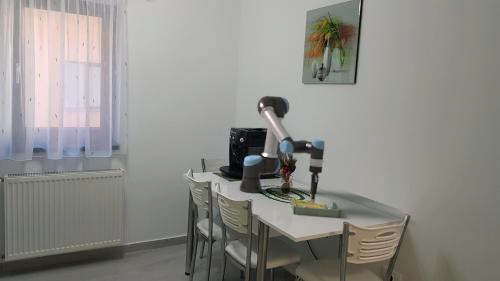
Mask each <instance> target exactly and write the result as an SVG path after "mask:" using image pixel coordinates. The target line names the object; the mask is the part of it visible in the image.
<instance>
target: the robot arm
mask: <svg viewBox="0 0 500 281" xmlns="http://www.w3.org/2000/svg"><path fill="white" fill-rule="evenodd" d="M256 107H257V108H256V109H257V112H258V115H259V116H260V117H261V118H263V119H264V121H265V122H266V123H267V129H266V131H267V132H266V138H265V142H264V150H263V152H262V153H261V156H260V155H258V154H257V155H253V154H252V155H248V156H245V157H244V160H243V171H242V172H243V174H242V180H241V182H240V185H239V191H241V192H244V193H251V194H257V193H260V192H262V190H263V188H262V183H261V175H273V174H276V173H278V171H279V170H280V168H281V162H280V161H281V160H280V158H279V155H278V153H277V152H278V144H279V150H280V152H281V153H282V154H285V155H286V154H287V155H292V154H308V155H309V156H310V158H309V167H308V168H309V169H308V171H309V173H312V174H310V176H311V177H310V178H311V179H310V193H309V194H310V197H309V202H310V203H315V204H316V197H317V196H316V195H317V193H318V192H317V190H318V184H319V178H320V176H319V174H321V173H322V172H323V164H324V162H325V161H324V152H325V140H324V139H312V140H311V141H309V140H305V139H300V140H294V139H293V138H292V136H291V135H290V133H289V132H288V130H287V128H286V127H285V126H284V125H283V123H282V120H283V119H285V115H287V114H288V113H289V112H290V103H289V101H288V99H287V98H286V97H284V96H283V97H282V96H276V95H275V96H270V95H265V96H262V97H261V98H260V99H259V100H258V102H257V106H256Z"/></svg>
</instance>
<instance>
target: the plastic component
mask: <svg viewBox="0 0 500 281" xmlns="http://www.w3.org/2000/svg"><path fill="white" fill-rule="evenodd" d="M292 199H293V200H294V203H295V206H298V207H303V206H307V207H311V208H324V209H327V203H325V204H324V205H322V204H318V203H316V202H315V203H310V201H305V200H302V199H301V200H300V199H297V198H295V197H294V196H292Z"/></svg>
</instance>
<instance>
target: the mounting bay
mask: <svg viewBox="0 0 500 281" xmlns="http://www.w3.org/2000/svg"><path fill="white" fill-rule="evenodd" d="M290 206H291V210H292V214H293V215H303V216H314V217H315V216H319V217H327V216H329V217H328V218H341V212H342V209H341V208H340V207H339V205H338V204H337V203H336V202H334V201H333V202H332V207H328V208H326V209H324V208H311V207H307V206H303V207H298V206H296V204H295V202H294V200H293V198H292V199H291V200H290Z"/></svg>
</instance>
